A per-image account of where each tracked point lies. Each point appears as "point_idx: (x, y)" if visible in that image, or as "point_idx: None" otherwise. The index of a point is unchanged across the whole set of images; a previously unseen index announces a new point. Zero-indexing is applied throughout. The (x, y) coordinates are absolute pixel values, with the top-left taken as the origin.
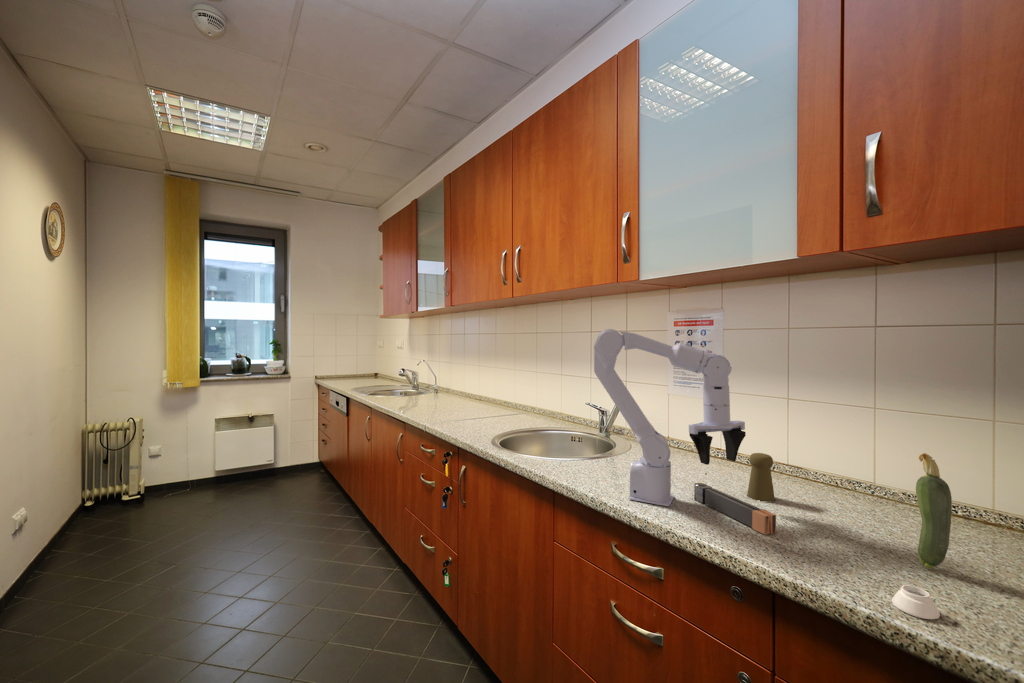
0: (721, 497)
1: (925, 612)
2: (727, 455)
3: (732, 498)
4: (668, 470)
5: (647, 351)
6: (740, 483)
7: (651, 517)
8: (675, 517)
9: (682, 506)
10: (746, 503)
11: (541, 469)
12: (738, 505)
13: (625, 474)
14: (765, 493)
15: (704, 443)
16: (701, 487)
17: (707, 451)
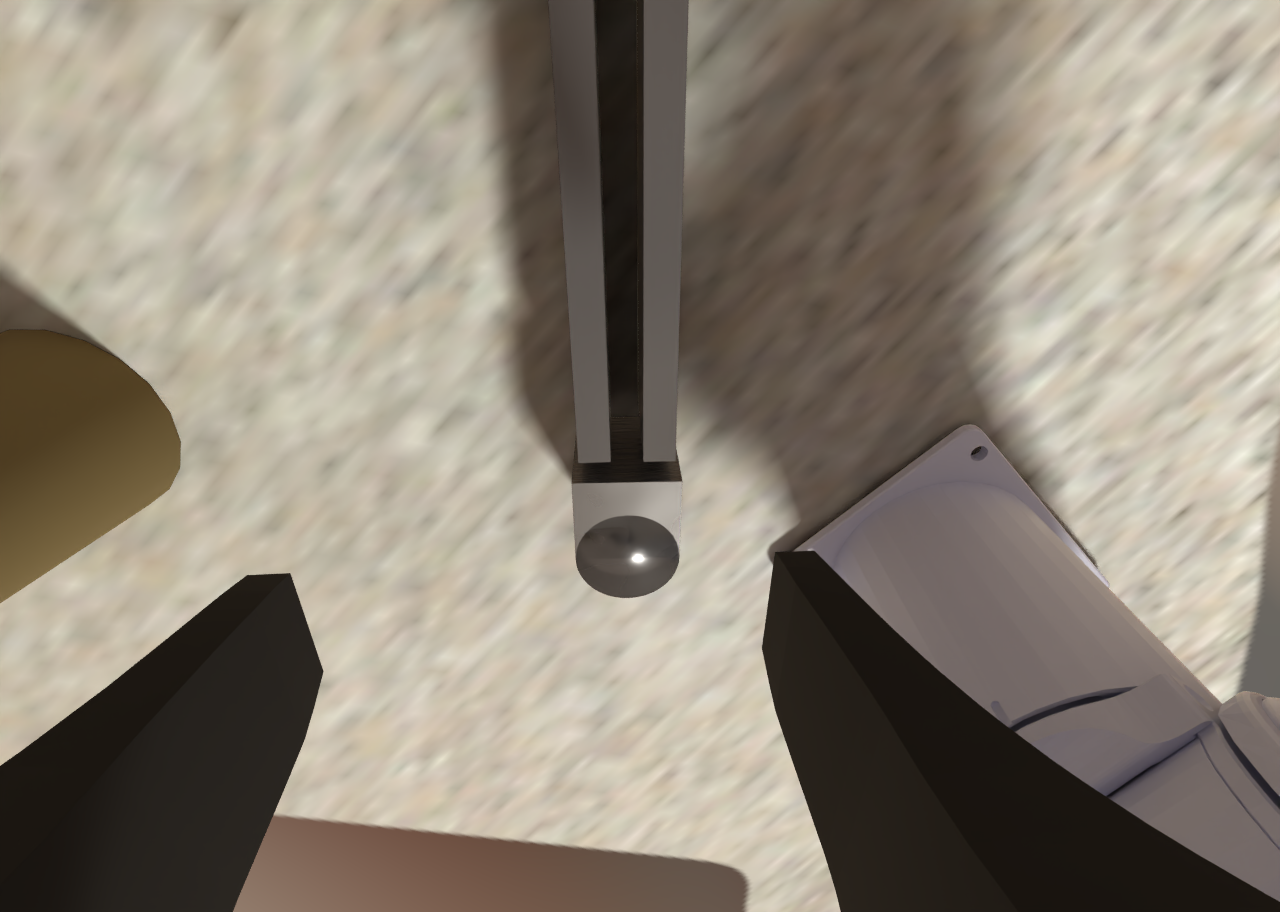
0: (681, 243)
1: None
2: (298, 715)
3: (599, 172)
4: (1047, 666)
5: None
6: (81, 680)
7: (1255, 288)
8: (1094, 240)
9: (852, 413)
10: None
11: None
12: None
13: (765, 881)
14: (23, 374)
15: (1219, 867)
16: (676, 500)
17: (939, 695)
